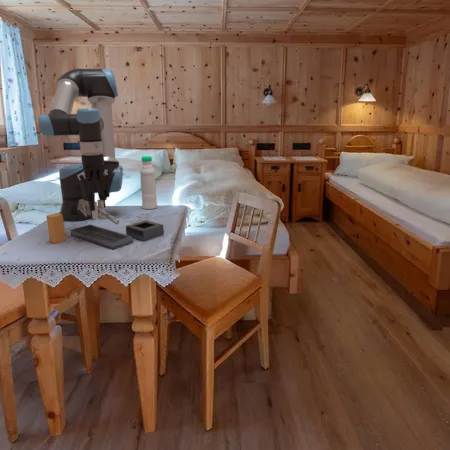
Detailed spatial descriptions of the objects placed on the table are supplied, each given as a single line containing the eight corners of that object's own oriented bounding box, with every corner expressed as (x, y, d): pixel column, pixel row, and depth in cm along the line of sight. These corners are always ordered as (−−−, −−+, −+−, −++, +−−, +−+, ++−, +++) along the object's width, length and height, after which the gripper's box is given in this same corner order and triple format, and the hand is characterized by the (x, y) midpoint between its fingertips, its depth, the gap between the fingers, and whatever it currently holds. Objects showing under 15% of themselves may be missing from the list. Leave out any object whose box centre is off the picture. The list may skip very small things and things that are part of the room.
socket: (126, 236, 155) (125, 226, 154) (146, 229, 163) (145, 220, 162) (143, 241, 149) (143, 230, 148) (163, 234, 157) (163, 224, 156)
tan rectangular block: (50, 241, 150) (46, 215, 147) (60, 238, 153) (56, 213, 150) (55, 243, 148) (52, 217, 145) (65, 240, 151) (62, 214, 148)
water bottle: (141, 206, 199) (137, 155, 192) (155, 205, 201) (152, 154, 194) (143, 210, 193) (140, 157, 186) (158, 208, 195) (155, 156, 188)
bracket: (84, 208, 158) (88, 187, 152) (117, 240, 149) (122, 219, 143) (77, 210, 155) (80, 188, 150) (109, 243, 146) (114, 221, 141)
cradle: (70, 235, 157) (70, 229, 156) (90, 229, 163) (90, 224, 163) (112, 249, 141) (112, 243, 141) (132, 242, 148) (132, 236, 147)
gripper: (79, 156, 135) (86, 224, 142) (116, 152, 147) (121, 215, 153) (66, 155, 140) (74, 220, 146) (103, 151, 151) (109, 212, 158)
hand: (98, 217), depth 150 cm, fingers closed on bracket, 2 cm apart
